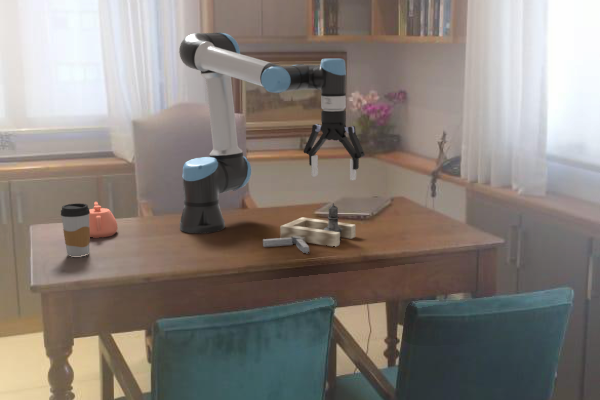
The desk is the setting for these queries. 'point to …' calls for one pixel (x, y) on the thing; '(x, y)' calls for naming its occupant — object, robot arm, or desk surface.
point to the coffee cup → (76, 228)
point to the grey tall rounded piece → (333, 220)
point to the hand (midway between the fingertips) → (333, 177)
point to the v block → (288, 242)
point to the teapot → (101, 222)
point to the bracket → (317, 231)
